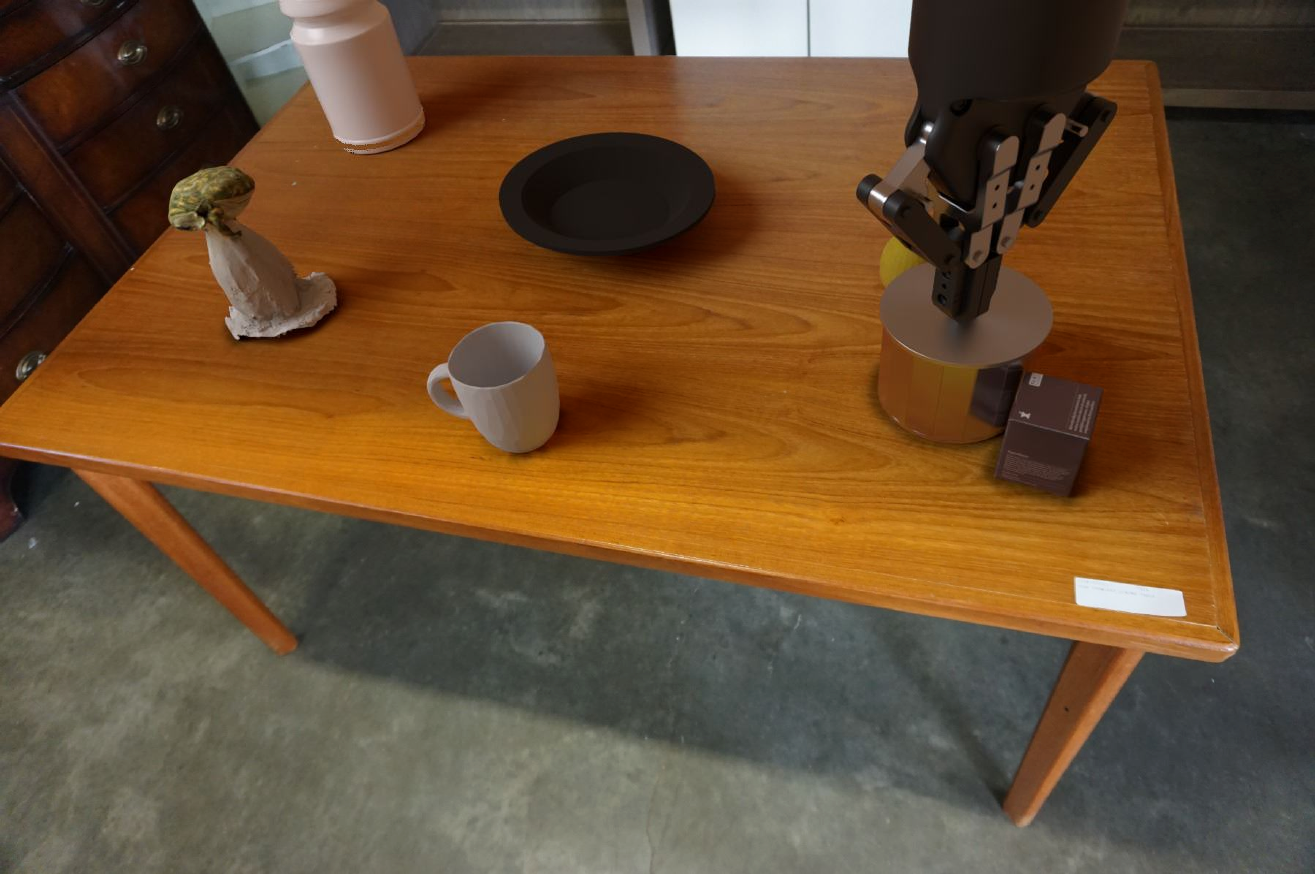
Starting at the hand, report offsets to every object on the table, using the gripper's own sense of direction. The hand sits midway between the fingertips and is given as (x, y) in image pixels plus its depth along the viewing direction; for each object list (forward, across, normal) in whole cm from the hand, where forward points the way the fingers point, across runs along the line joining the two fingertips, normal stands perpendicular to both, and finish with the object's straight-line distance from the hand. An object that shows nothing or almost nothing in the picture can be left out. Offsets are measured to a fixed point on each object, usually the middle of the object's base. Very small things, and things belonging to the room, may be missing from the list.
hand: (960, 310), depth 42 cm
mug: (+29, -18, +36) cm, 50 cm away
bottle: (+29, -10, +106) cm, 111 cm away
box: (+29, +18, +4) cm, 35 cm away
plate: (+29, +6, +60) cm, 67 cm away
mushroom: (+29, -33, +71) cm, 84 cm away
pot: (+29, +18, +15) cm, 37 cm away
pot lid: (+20, +18, +15) cm, 30 cm away
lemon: (+29, +24, +28) cm, 47 cm away
